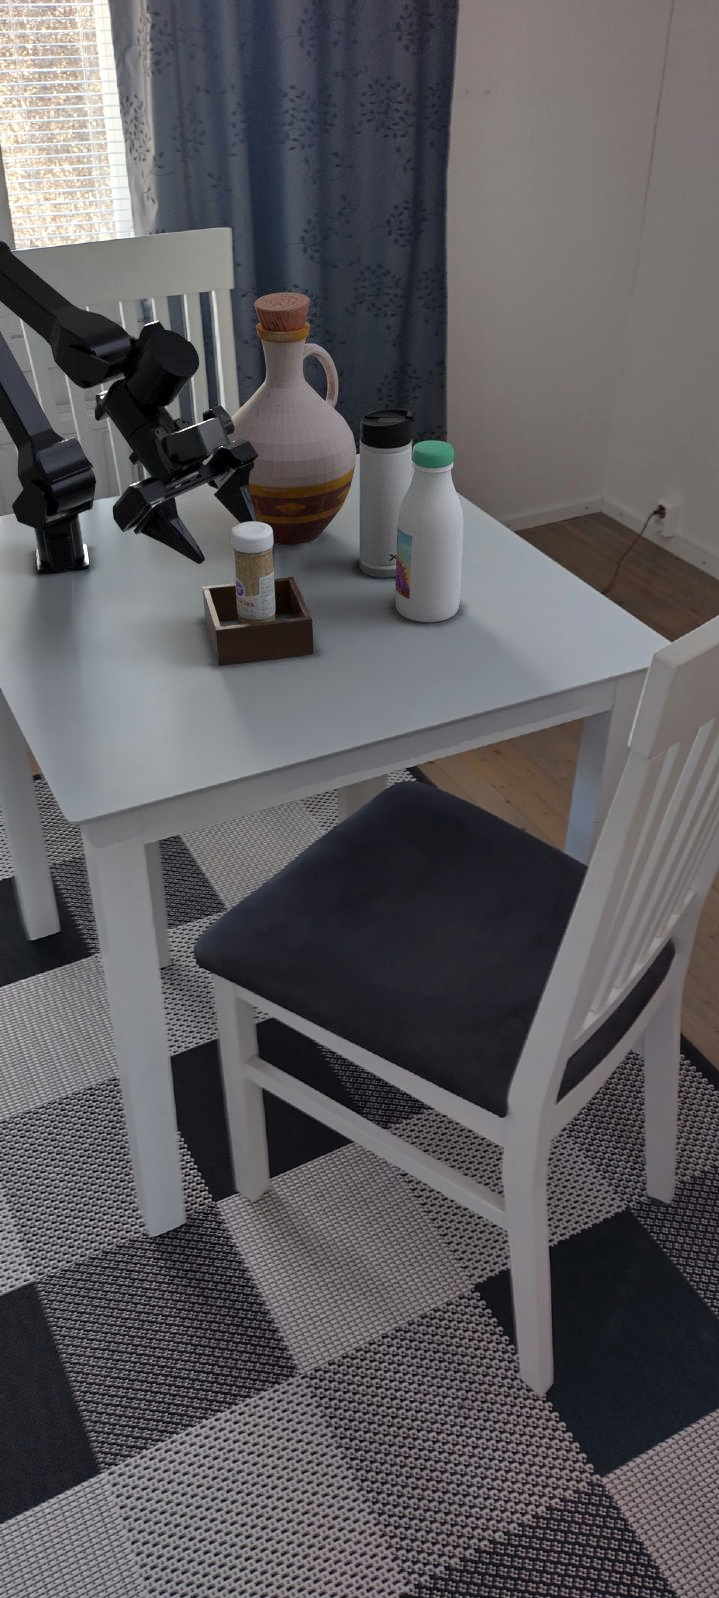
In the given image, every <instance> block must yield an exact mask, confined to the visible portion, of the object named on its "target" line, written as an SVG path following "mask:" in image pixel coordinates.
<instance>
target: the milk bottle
mask: <svg viewBox="0 0 719 1598" xmlns="http://www.w3.org/2000/svg"><path fill="white" fill-rule="evenodd" d="M454 459H455V449H454V446H453V445H452V444H450V443H448V442H446V441H442V440H424V441H420V442H417V443H416V444H414V445H413V446H412V462H411V467H413V469H414V470H413V475H412V477H411V484H410V486H409V489H408V491H407V493H406V495H405V496H404V499H403V501H402V503H401V506H400V510H399V516H398V526H397V549H396V576H395V596H394V597H395V608H396V610H397V612H398V613H399V614H400V615H401V616H403V618H406V619H409V620H411V621H414V622H415V621H416V622H421V623H435V622H436V623H437V622H443V621H446V620H448V619H451V618H452V617H453V616H455V615H456V614H457V612H458V610H459V608H460V600H461V588H462V587H461V586H462V585H461V584H462V568H463V567H462V566H463V547H464V512H463V506H462V503H461V501H460V498H459V496H458V493H457V491H456V488H455V485H454V481H453V476H452V469H453V468H454Z"/></svg>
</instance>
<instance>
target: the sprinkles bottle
mask: <svg viewBox="0 0 719 1598" xmlns="http://www.w3.org/2000/svg"><path fill="white" fill-rule="evenodd" d="M230 533H231V535H230V537H231V539H230V540H231V546H232V549H233V552H234V553H233V556H234V557H233V559H234V569H235V583H236V599H237V612H238V620H237V622H238V625H242V624H250V623H259V622H267V621H276V616H275V588H274V579H275V569H274V558H273V557H274V556H273V546H274V543H273V530H272V528H271V527H270V526H269V525H268V524H265V523H262V522H255V521H251V522H244V523H240V522H239V523H237V524H236V525H234V526H233V527H232V528H231V532H230Z"/></svg>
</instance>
